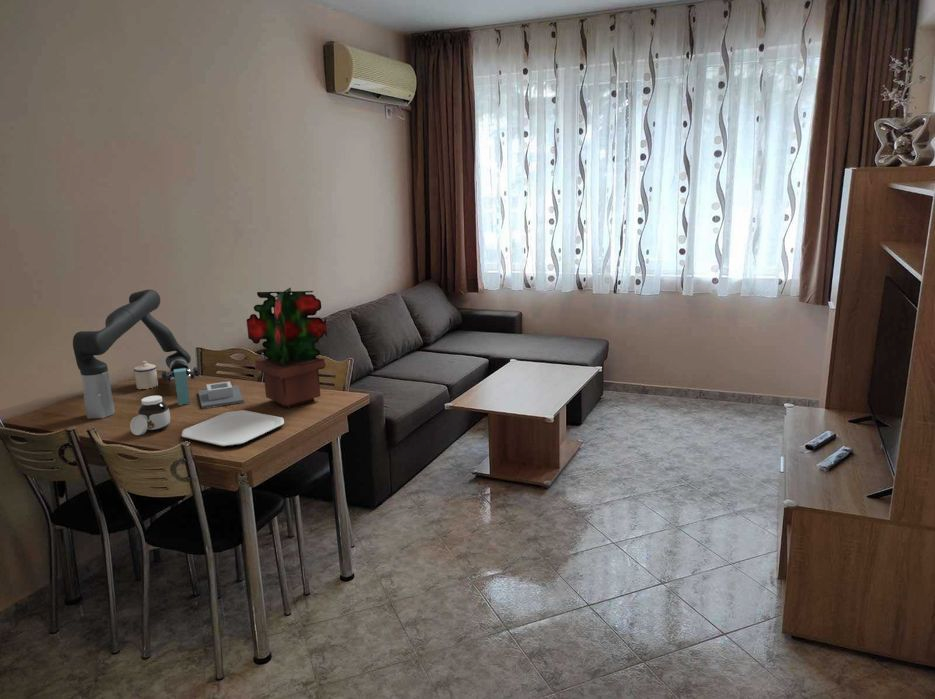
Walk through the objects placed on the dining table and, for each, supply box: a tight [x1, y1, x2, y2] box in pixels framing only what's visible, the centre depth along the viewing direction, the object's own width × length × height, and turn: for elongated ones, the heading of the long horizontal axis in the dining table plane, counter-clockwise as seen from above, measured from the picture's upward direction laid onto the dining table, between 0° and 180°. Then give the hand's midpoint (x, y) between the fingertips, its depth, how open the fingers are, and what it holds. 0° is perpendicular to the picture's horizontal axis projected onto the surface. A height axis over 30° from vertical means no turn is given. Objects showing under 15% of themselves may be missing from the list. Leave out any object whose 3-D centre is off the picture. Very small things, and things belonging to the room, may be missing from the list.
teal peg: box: [174, 368, 191, 406], centre depth 270 cm, size 4×4×14 cm
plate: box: [180, 409, 285, 448], centre depth 240 cm, size 29×29×2 cm
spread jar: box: [129, 395, 171, 436], centre depth 241 cm, size 12×11×12 cm
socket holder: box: [197, 380, 245, 409], centre depth 277 cm, size 22×16×5 cm
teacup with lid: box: [133, 360, 159, 390], centre depth 294 cm, size 12×9×12 cm
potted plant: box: [246, 287, 328, 408], centre depth 265 cm, size 22×22×45 cm
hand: (180, 378), depth 278 cm, fingers open, 8 cm apart
